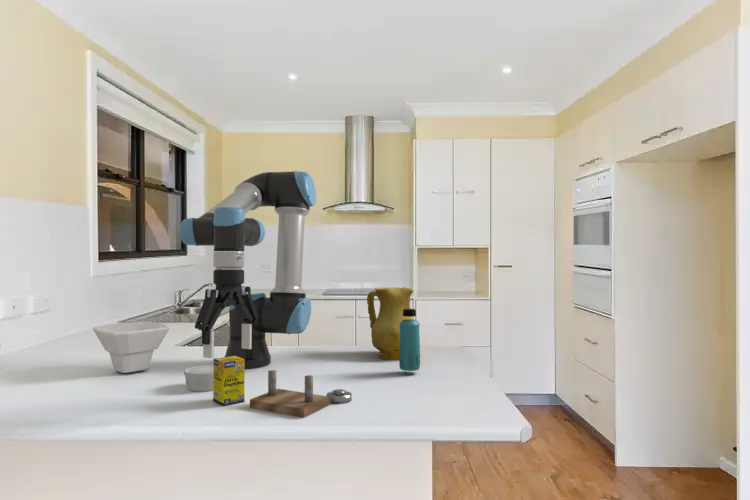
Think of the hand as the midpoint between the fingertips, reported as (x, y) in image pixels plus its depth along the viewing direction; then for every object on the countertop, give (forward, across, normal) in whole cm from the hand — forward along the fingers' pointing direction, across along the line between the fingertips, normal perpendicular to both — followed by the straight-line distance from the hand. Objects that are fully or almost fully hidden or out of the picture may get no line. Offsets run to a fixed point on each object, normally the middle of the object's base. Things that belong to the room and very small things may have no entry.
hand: (228, 353), depth 132 cm
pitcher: (+12, +70, -14) cm, 72 cm away
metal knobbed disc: (+12, +14, -24) cm, 31 cm away
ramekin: (+12, +8, +15) cm, 21 cm away
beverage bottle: (+12, +48, -29) cm, 58 cm away
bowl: (+12, +10, +49) cm, 52 cm away
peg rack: (+12, +4, -16) cm, 21 cm away
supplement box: (+13, 0, 0) cm, 13 cm away
